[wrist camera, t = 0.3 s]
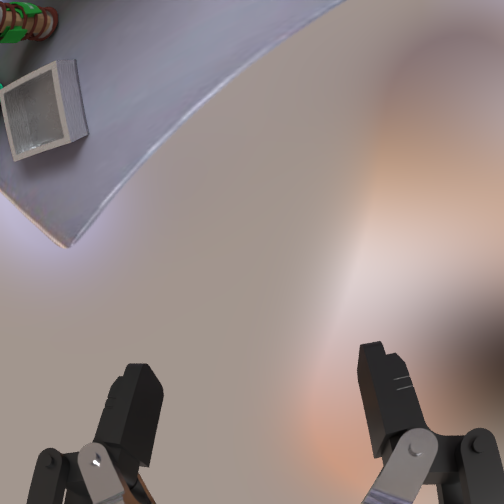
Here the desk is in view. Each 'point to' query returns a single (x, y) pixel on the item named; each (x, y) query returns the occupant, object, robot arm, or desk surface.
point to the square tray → (44, 109)
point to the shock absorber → (26, 22)
